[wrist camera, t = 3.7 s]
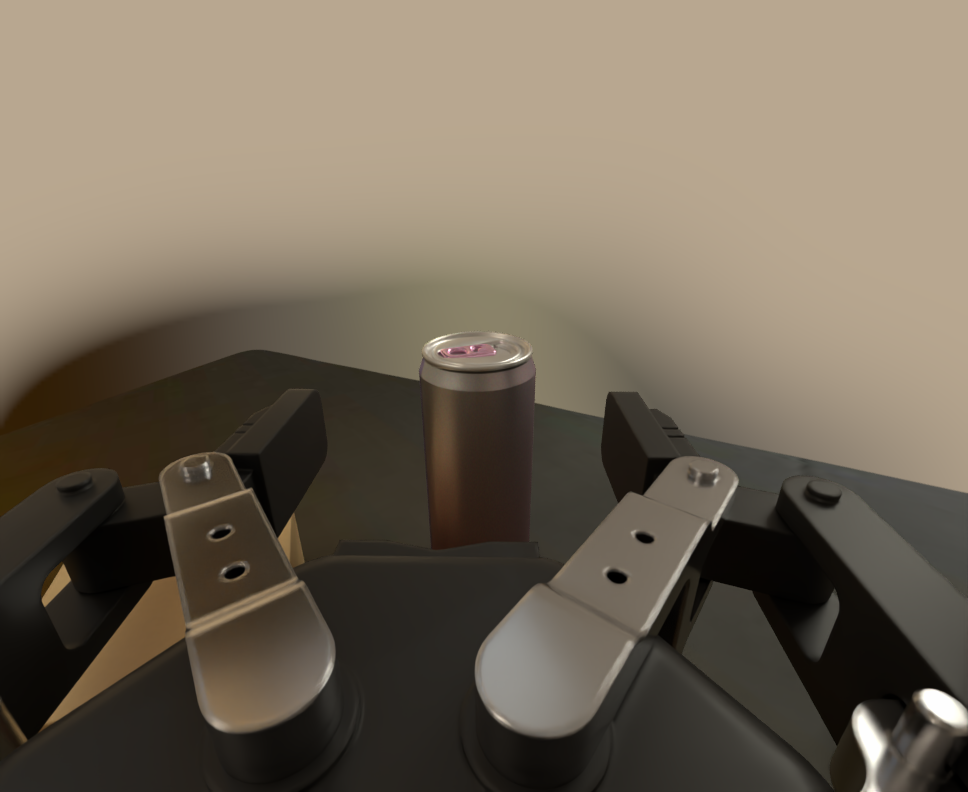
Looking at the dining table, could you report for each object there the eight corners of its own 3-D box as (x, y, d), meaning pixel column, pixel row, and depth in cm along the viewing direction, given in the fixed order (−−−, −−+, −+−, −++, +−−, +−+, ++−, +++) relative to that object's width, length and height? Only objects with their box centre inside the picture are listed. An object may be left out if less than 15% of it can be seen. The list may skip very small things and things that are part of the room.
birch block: (305, 564, 31) (291, 501, 29) (307, 731, 22) (287, 655, 20) (106, 610, 28) (75, 543, 26) (7, 830, 19) (-54, 751, 17)
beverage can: (423, 552, 32) (406, 336, 26) (505, 531, 34) (508, 325, 28) (448, 623, 27) (435, 375, 21) (544, 594, 29) (557, 358, 23)
